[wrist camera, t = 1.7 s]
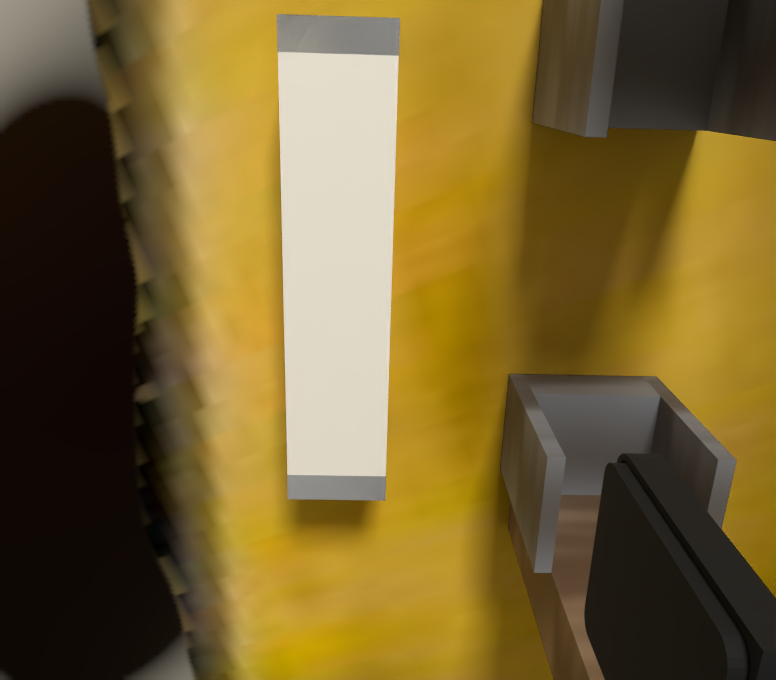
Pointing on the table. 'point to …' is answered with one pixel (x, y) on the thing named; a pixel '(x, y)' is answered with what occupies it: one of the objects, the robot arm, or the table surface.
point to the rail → (337, 248)
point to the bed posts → (621, 393)
